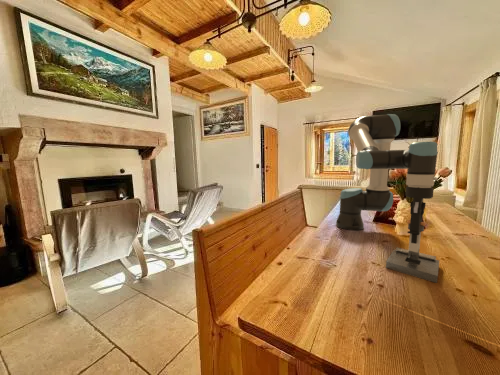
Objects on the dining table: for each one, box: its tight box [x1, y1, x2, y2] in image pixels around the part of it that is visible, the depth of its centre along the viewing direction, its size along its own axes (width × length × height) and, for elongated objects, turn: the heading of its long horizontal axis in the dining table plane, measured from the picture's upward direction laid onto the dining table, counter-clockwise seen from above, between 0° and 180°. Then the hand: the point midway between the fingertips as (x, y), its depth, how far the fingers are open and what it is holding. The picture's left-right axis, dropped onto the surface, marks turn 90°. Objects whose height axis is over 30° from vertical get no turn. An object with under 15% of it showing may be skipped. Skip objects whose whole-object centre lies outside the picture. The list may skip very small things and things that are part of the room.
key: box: [406, 219, 427, 260], centre depth 73 cm, size 5×4×14 cm
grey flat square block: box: [385, 246, 440, 284], centre depth 74 cm, size 14×14×4 cm
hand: (414, 249), depth 74 cm, fingers closed on key, 3 cm apart
